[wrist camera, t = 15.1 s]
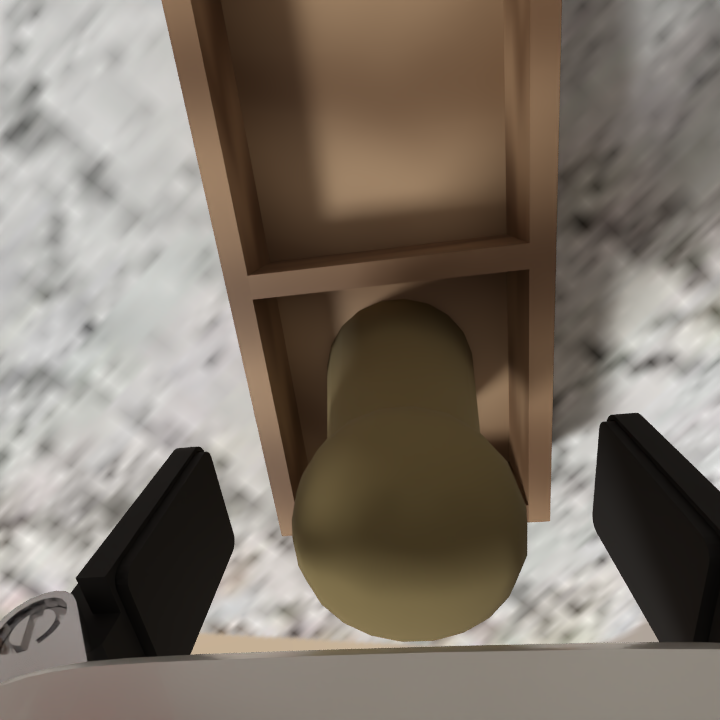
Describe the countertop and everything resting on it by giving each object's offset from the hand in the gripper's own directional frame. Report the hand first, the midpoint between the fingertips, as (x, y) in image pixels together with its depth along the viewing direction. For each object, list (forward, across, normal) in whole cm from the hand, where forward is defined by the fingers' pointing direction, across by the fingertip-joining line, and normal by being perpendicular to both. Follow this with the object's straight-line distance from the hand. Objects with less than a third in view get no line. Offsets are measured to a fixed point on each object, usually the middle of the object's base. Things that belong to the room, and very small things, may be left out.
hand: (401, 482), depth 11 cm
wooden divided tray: (+10, 0, -4) cm, 11 cm away
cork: (+9, 0, +1) cm, 9 cm away
